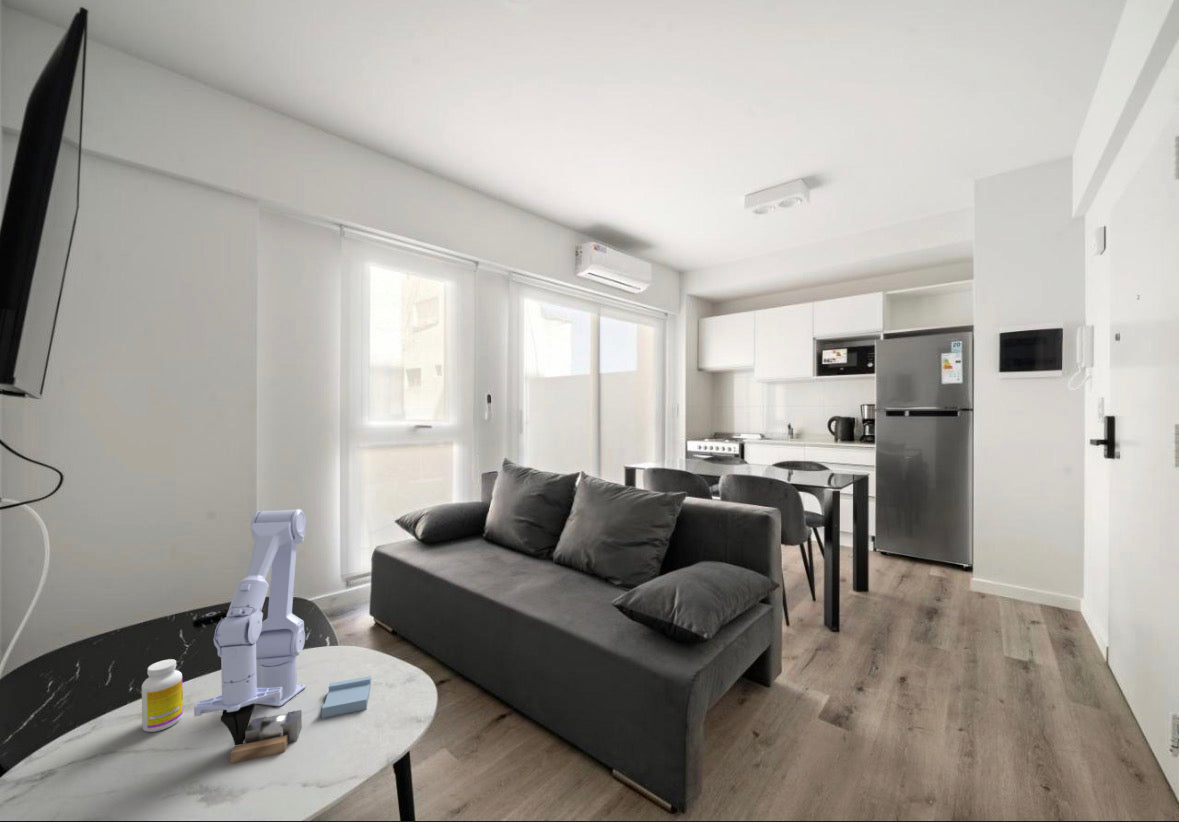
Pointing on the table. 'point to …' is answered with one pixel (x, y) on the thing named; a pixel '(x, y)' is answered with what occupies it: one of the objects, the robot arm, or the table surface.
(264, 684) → the robot arm
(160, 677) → the supplement bottle
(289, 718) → the silver boxy piece
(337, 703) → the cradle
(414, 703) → the table surface
